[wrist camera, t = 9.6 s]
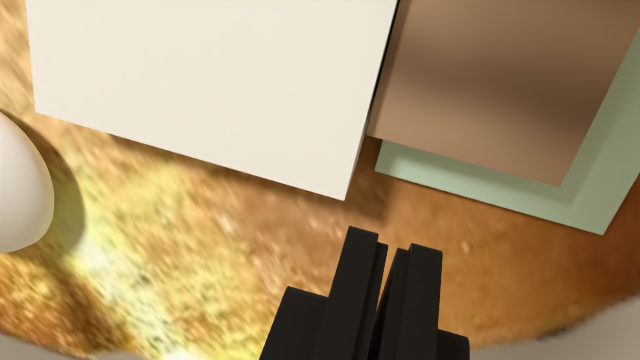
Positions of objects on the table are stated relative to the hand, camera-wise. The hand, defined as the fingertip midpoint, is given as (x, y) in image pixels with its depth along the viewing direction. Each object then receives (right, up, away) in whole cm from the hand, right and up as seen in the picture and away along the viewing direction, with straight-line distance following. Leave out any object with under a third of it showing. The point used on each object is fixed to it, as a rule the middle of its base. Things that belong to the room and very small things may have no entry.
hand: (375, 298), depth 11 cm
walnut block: (+7, +8, +16) cm, 19 cm away
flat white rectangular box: (-5, +12, +17) cm, 22 cm away
